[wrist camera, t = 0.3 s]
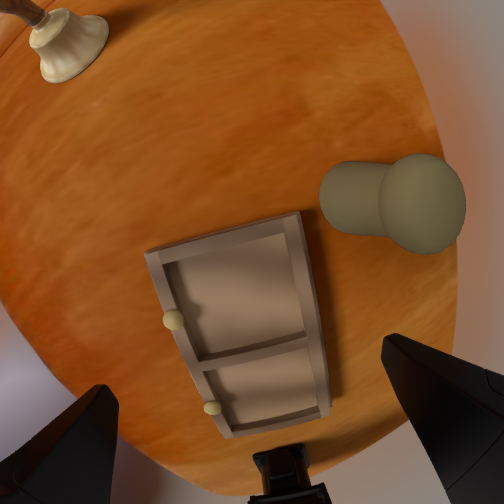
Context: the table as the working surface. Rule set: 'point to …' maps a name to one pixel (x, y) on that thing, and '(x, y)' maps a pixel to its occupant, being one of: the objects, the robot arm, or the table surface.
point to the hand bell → (60, 38)
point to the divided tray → (247, 323)
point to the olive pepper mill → (396, 201)
